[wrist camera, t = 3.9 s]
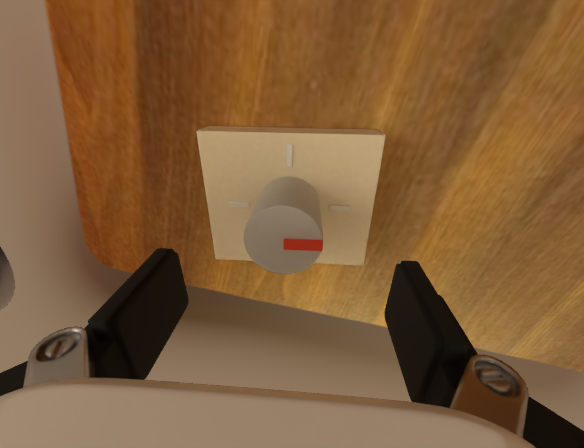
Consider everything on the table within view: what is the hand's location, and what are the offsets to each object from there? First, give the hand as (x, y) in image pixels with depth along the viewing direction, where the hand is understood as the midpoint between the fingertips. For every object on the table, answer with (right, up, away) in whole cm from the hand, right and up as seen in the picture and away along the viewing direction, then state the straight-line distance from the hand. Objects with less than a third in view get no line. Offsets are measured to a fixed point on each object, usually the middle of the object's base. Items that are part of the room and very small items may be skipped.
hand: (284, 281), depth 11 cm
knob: (0, +4, +7) cm, 8 cm away
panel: (0, +5, +10) cm, 11 cm away
